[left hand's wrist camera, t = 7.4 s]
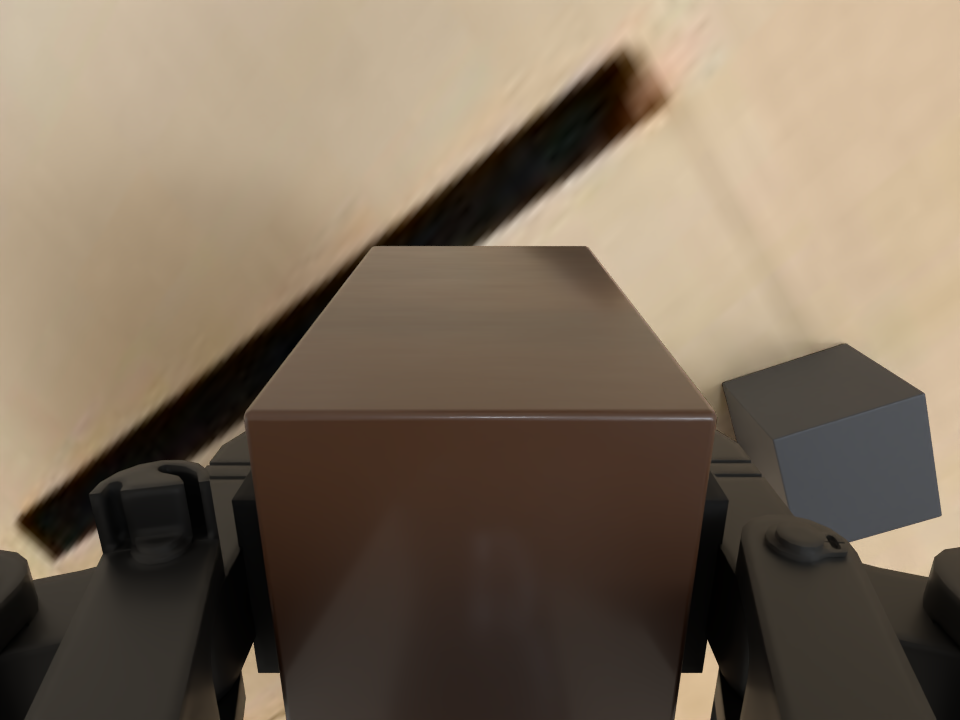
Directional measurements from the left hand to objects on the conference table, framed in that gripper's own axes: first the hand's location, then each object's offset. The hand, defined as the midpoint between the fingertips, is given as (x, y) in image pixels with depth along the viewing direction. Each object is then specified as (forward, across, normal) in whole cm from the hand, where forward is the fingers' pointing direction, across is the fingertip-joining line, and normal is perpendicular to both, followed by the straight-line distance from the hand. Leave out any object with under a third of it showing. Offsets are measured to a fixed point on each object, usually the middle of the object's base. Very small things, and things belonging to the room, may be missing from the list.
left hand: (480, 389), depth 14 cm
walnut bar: (0, 0, -9) cm, 9 cm away
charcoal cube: (+11, +13, -6) cm, 18 cm away
